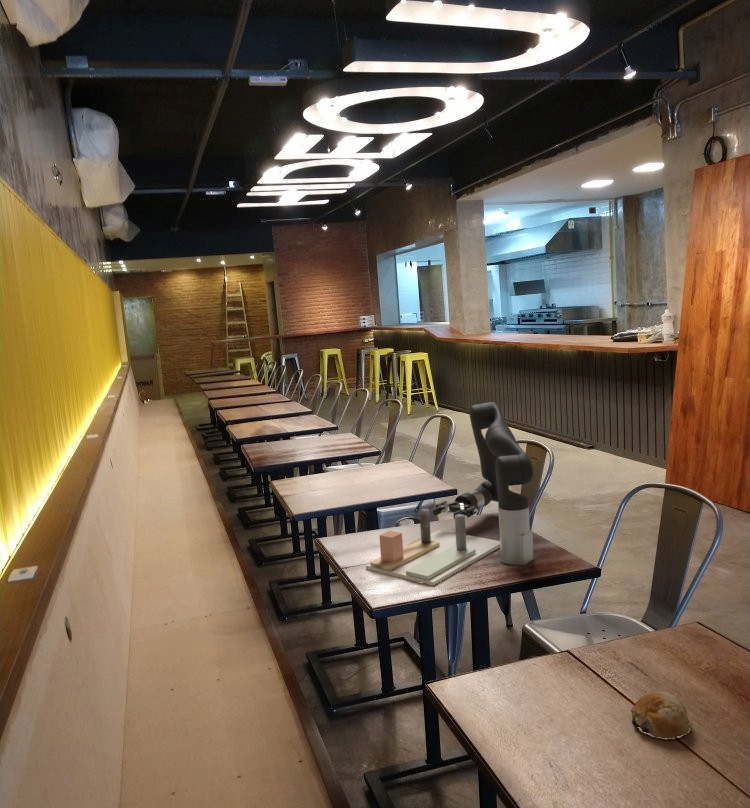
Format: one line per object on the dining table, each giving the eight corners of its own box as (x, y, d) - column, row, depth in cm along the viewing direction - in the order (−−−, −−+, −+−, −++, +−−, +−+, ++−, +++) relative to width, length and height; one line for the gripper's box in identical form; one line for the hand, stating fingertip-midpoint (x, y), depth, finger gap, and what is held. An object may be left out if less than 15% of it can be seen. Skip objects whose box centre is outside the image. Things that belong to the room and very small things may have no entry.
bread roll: (685, 762, 127) (706, 725, 126) (631, 737, 128) (650, 700, 127) (672, 729, 137) (691, 695, 135) (622, 706, 138) (640, 672, 136)
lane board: (503, 545, 235) (503, 541, 235) (433, 586, 205) (433, 582, 204) (439, 533, 251) (439, 529, 251) (365, 569, 221) (365, 565, 221)
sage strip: (475, 552, 225) (473, 515, 224) (427, 580, 206) (425, 539, 204) (454, 548, 230) (452, 512, 229) (406, 574, 211) (403, 535, 209)
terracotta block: (403, 557, 222) (401, 533, 221) (393, 562, 218) (391, 537, 217) (391, 554, 225) (389, 530, 224) (381, 559, 221) (379, 535, 220)
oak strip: (439, 545, 234) (437, 509, 233) (390, 571, 215) (387, 532, 213) (420, 541, 239) (418, 506, 238) (370, 566, 220) (367, 528, 218)
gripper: (452, 490, 259) (426, 501, 247) (486, 494, 250) (461, 506, 238) (453, 509, 260) (427, 522, 248) (487, 515, 251) (462, 528, 239)
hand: (444, 514), depth 243 cm, fingers open, 8 cm apart
